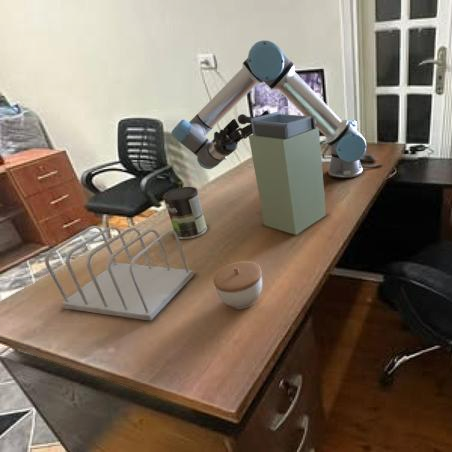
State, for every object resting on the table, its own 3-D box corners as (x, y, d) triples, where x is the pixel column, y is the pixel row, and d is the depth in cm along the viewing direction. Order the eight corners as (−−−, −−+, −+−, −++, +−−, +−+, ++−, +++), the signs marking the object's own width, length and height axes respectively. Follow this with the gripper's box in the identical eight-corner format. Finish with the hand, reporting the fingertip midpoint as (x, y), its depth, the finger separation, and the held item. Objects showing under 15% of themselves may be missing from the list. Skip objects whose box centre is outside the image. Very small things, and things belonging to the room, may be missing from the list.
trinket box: (255, 318, 78) (248, 284, 73) (212, 313, 80) (202, 280, 76) (272, 287, 87) (266, 256, 83) (233, 284, 89) (225, 253, 85)
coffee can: (184, 242, 110) (171, 202, 104) (169, 233, 117) (157, 194, 110) (213, 229, 117) (203, 190, 110) (198, 221, 123) (187, 184, 117)
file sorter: (63, 309, 85) (33, 255, 78) (117, 268, 100) (96, 219, 92) (151, 321, 79) (127, 264, 72) (194, 275, 94) (178, 224, 87)
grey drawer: (313, 128, 106) (312, 113, 104) (286, 138, 97) (284, 122, 95) (254, 122, 120) (252, 109, 118) (226, 130, 112) (223, 116, 109)
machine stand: (326, 215, 121) (317, 116, 105) (295, 235, 110) (281, 128, 94) (295, 206, 129) (283, 114, 113) (263, 224, 118) (245, 124, 102)
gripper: (254, 146, 135) (285, 121, 120) (199, 165, 117) (227, 138, 102) (244, 128, 134) (274, 100, 119) (187, 144, 116) (214, 115, 101)
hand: (253, 118), depth 111 cm, fingers open, 13 cm apart
